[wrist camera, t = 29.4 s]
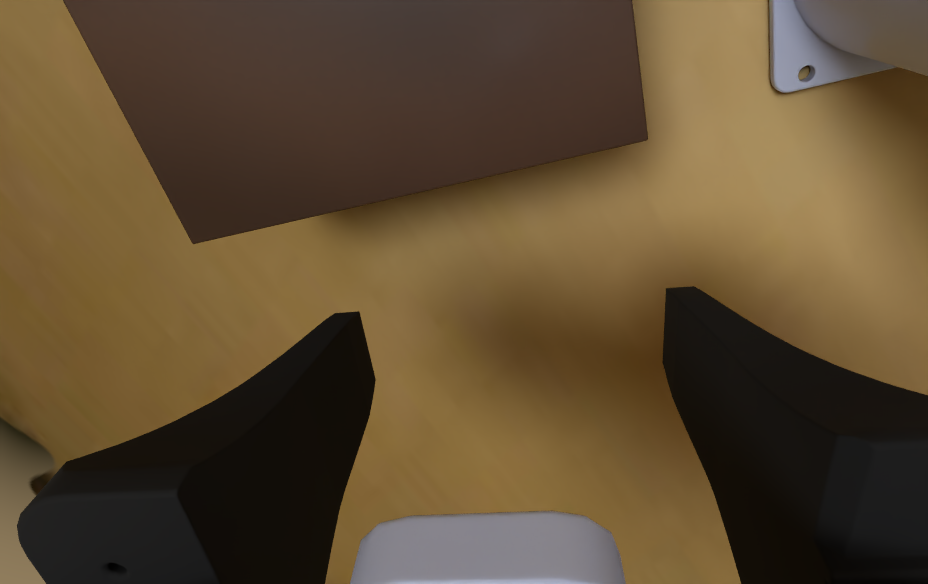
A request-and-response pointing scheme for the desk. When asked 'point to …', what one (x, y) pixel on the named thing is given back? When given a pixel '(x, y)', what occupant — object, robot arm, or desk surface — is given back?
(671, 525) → the desk surface
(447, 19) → the cabinet
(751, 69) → the desk surface
